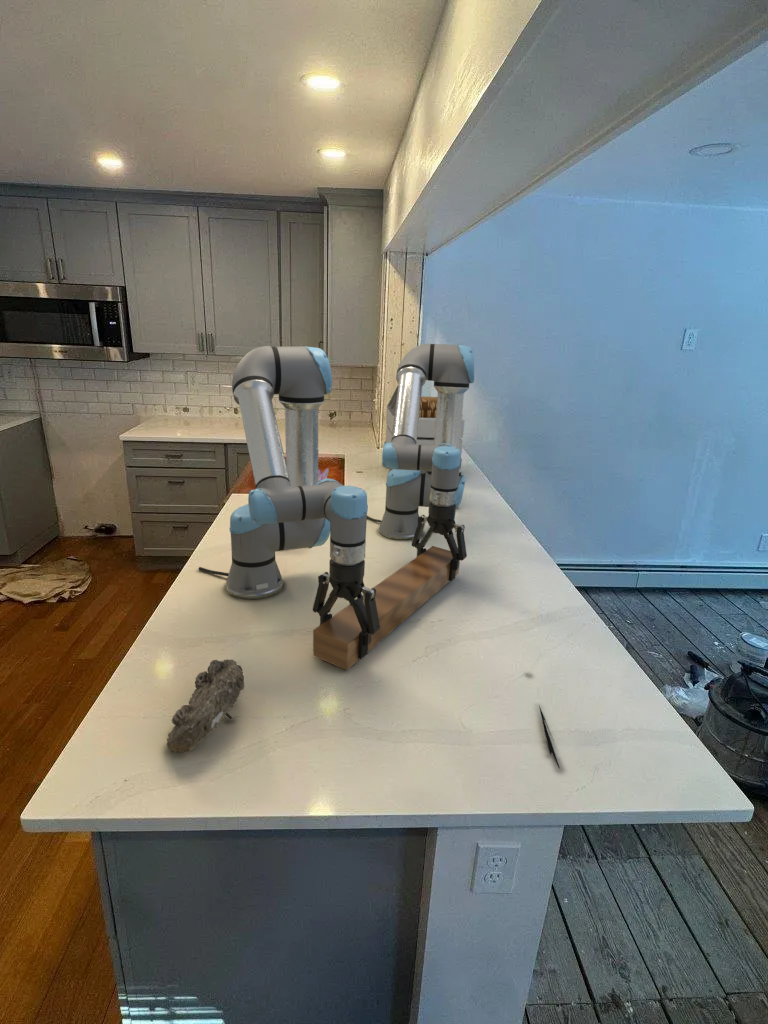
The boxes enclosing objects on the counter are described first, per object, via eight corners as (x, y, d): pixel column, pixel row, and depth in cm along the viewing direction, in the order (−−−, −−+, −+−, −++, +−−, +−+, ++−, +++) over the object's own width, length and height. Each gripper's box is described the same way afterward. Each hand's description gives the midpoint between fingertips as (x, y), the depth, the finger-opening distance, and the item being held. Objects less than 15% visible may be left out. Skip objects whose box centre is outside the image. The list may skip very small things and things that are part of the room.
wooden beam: (431, 565, 173) (432, 545, 171) (458, 573, 169) (460, 553, 166) (312, 655, 126) (313, 630, 124) (346, 670, 122) (347, 644, 120)
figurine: (318, 511, 218) (318, 473, 213) (309, 502, 226) (309, 466, 221) (341, 508, 222) (341, 471, 217) (331, 500, 231) (331, 464, 226)
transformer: (382, 463, 289) (386, 382, 275) (445, 464, 293) (451, 384, 279) (390, 482, 257) (394, 392, 243) (460, 483, 261) (468, 394, 247)
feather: (529, 679, 125) (535, 673, 125) (559, 773, 99) (566, 766, 98) (523, 675, 125) (528, 669, 125) (551, 768, 98) (558, 761, 98)
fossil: (192, 660, 117) (244, 628, 112) (224, 691, 120) (276, 661, 115) (142, 746, 98) (202, 712, 93) (182, 779, 101) (242, 748, 96)
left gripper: (295, 551, 123) (296, 639, 131) (381, 580, 112) (376, 674, 120) (317, 540, 129) (316, 625, 137) (400, 566, 118) (394, 656, 126)
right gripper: (402, 497, 160) (397, 569, 168) (473, 515, 150) (465, 590, 158) (414, 491, 166) (409, 560, 174) (484, 507, 156) (476, 579, 164)
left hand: (344, 648), depth 129 cm, fingers closed on wooden beam, 9 cm apart
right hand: (436, 574), depth 166 cm, fingers closed on wooden beam, 9 cm apart
